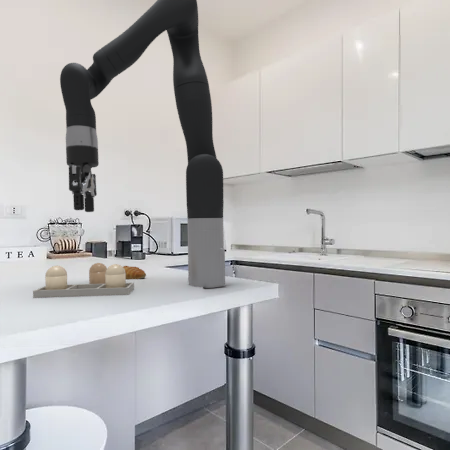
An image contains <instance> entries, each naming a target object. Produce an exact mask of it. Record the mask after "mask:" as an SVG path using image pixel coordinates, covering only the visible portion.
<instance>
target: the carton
mask: <svg viewBox="0 0 450 450" xmlns="http://www.w3.org/2000/svg"><path fill="white" fill-rule="evenodd" d="M134 290H135V282H126V288H106V284H89V283H84V284H83V283H80V284H67V289H63V290H46V287H45V286H41V287H40V288H36V289H34V290H32V299H44V298H45V299H47V298H52V299H53V298H74V297H75V298H76V297H78V298H81V297H103V296H105V297H106V296H129V295H130V294H131V293H133V291H134Z"/></svg>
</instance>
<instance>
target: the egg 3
mask: <svg viewBox="0 0 450 450" xmlns="http://www.w3.org/2000/svg"><path fill="white" fill-rule="evenodd" d="M126 283H127V281H126V273H125V269H124V268H123V265H121V264H118V263H114V264H110V265H109V266H108V267H107V270H106V273H105V284H106V288H126Z"/></svg>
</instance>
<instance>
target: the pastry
mask: <svg viewBox="0 0 450 450" xmlns="http://www.w3.org/2000/svg"><path fill="white" fill-rule="evenodd" d="M122 267H123V268H124V269H125V273H126V280H129V281H130V280H141V279H145V278H146V276H147V273H146V272H145V270H143V269H142V268H140V267H137V266H129V265H122Z"/></svg>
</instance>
